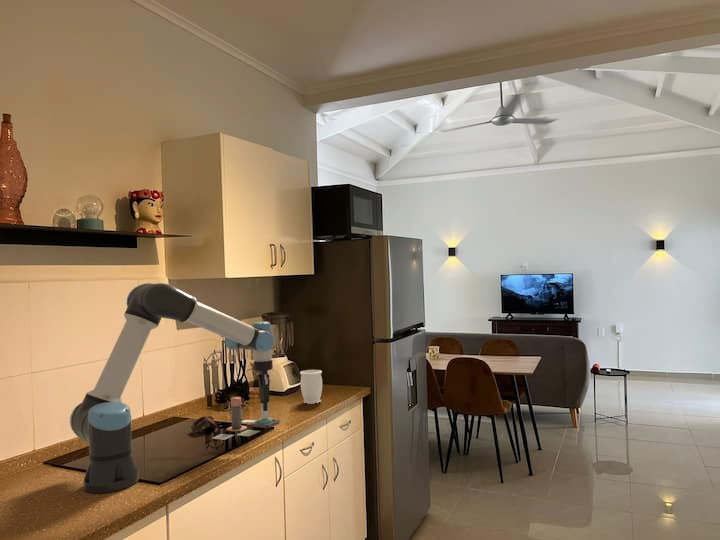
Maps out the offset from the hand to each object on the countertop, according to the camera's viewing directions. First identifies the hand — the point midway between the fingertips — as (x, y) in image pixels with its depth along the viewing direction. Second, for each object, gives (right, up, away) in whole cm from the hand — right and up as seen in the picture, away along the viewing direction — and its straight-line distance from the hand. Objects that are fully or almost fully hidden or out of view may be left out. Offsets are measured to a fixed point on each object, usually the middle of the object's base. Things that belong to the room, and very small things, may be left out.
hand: (265, 418), depth 216 cm
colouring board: (-8, -4, -8) cm, 12 cm away
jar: (+15, -4, +42) cm, 45 cm away
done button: (0, -2, 0) cm, 2 cm away
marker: (-11, -3, -4) cm, 12 cm away
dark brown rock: (-22, -5, -5) cm, 23 cm away
